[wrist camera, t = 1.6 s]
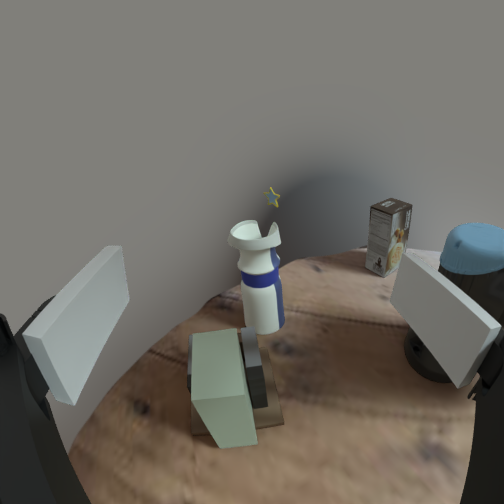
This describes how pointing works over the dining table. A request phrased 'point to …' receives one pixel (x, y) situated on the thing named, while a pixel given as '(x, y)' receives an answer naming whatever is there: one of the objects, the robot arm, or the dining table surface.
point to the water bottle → (259, 273)
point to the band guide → (258, 383)
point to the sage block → (222, 388)
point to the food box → (387, 235)
